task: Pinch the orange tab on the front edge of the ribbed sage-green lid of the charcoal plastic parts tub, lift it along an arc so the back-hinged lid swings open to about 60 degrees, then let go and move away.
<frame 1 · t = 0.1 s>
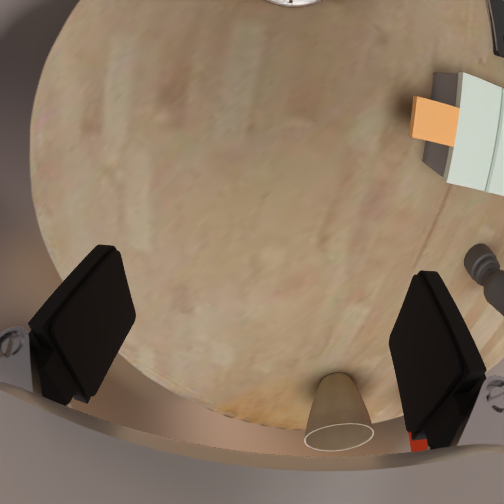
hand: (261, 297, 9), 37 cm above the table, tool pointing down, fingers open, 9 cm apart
lid: (497, 140, 28), point 9 cm above the table, hinge at 0.0°
vhs tape: (503, 20, 24), on the table
tub: (480, 132, 35), on the table
plant pot: (336, 380, 68), on the table
candle holder: (476, 257, 47), on the table
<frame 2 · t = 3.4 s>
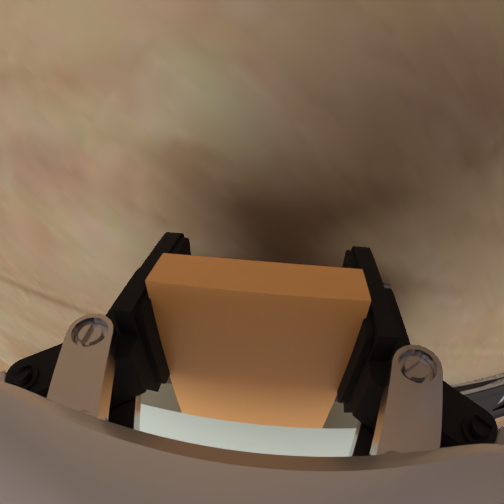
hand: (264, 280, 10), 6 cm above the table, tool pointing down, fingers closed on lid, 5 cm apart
lid: (250, 470, 14), point 9 cm above the table, hinge at 0.0°, touching gripper
vhs tape: (467, 395, 24), on the table
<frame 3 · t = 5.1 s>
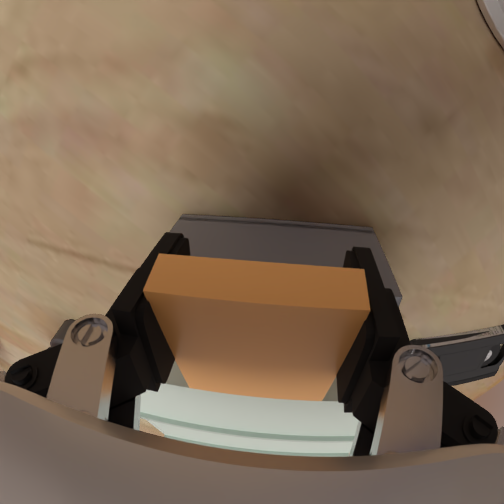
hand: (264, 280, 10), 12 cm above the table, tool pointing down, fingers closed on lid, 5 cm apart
lid: (256, 427, 16), point 12 cm above the table, hinge at 13.2°, touching gripper
vhs tape: (455, 351, 28), on the table
tub: (270, 322, 27), on the table
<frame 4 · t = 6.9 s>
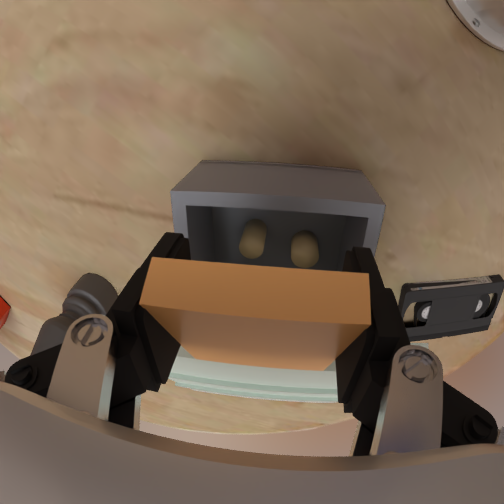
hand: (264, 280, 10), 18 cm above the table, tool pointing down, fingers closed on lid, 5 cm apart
lid: (262, 378, 18), point 15 cm above the table, hinge at 28.2°, touching gripper
vhs tape: (447, 302, 32), on the table
tub: (276, 261, 31), on the table
candle holder: (99, 291, 37), on the table
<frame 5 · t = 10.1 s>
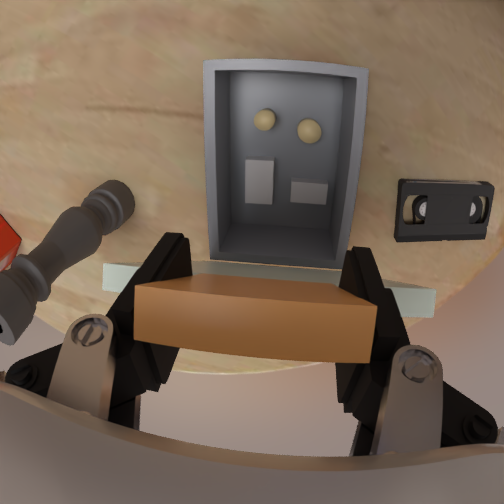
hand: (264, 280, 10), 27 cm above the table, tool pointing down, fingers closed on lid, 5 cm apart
lid: (271, 283, 19), point 20 cm above the table, hinge at 57.8°, touching gripper
vhs tape: (442, 206, 35), on the table
tub: (284, 151, 34), on the table
candle holder: (116, 200, 40), on the table
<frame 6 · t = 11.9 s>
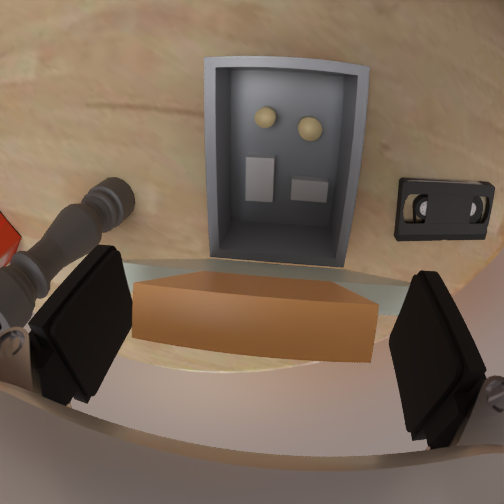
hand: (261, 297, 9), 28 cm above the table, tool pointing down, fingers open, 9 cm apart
lid: (271, 281, 19), point 20 cm above the table, hinge at 58.0°
vhs tape: (443, 205, 35), on the table
tub: (284, 148, 34), on the table
candle holder: (116, 197, 40), on the table
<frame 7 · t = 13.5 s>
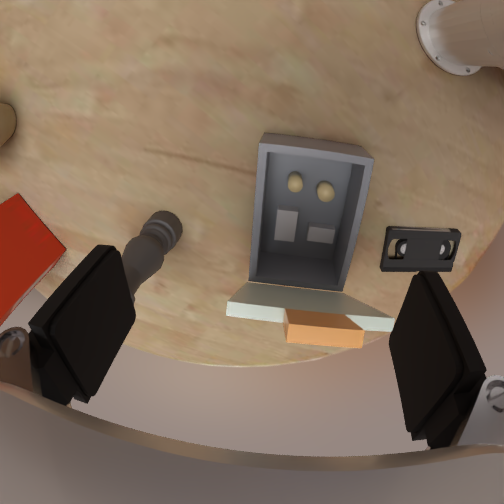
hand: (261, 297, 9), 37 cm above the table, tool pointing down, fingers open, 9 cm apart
file binder: (36, 230, 56), on the table
lid: (304, 307, 32), point 20 cm above the table, hinge at 58.0°
vhs tape: (419, 245, 49), on the table
tub: (304, 202, 47), on the table
plant pot: (7, 121, 43), on the table
candle holder: (165, 226, 52), on the table
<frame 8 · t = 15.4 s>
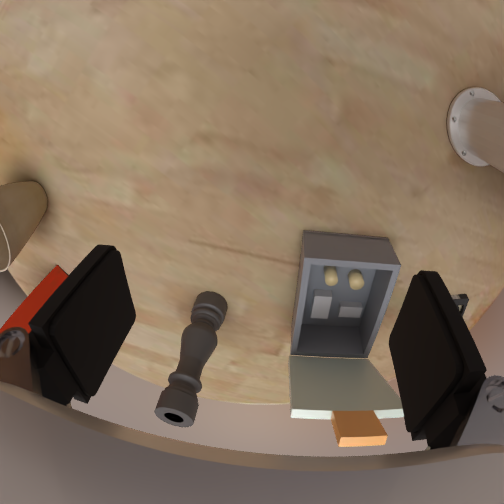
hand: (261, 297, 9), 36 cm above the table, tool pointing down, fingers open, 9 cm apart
file binder: (78, 297, 64), on the table
lid: (342, 392, 38), point 20 cm above the table, hinge at 58.0°
vhs tape: (432, 309, 54), on the table
tub: (336, 284, 53), on the table
plant pot: (36, 198, 51), on the table
candle holder: (211, 303, 59), on the table
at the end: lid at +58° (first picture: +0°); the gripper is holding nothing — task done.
